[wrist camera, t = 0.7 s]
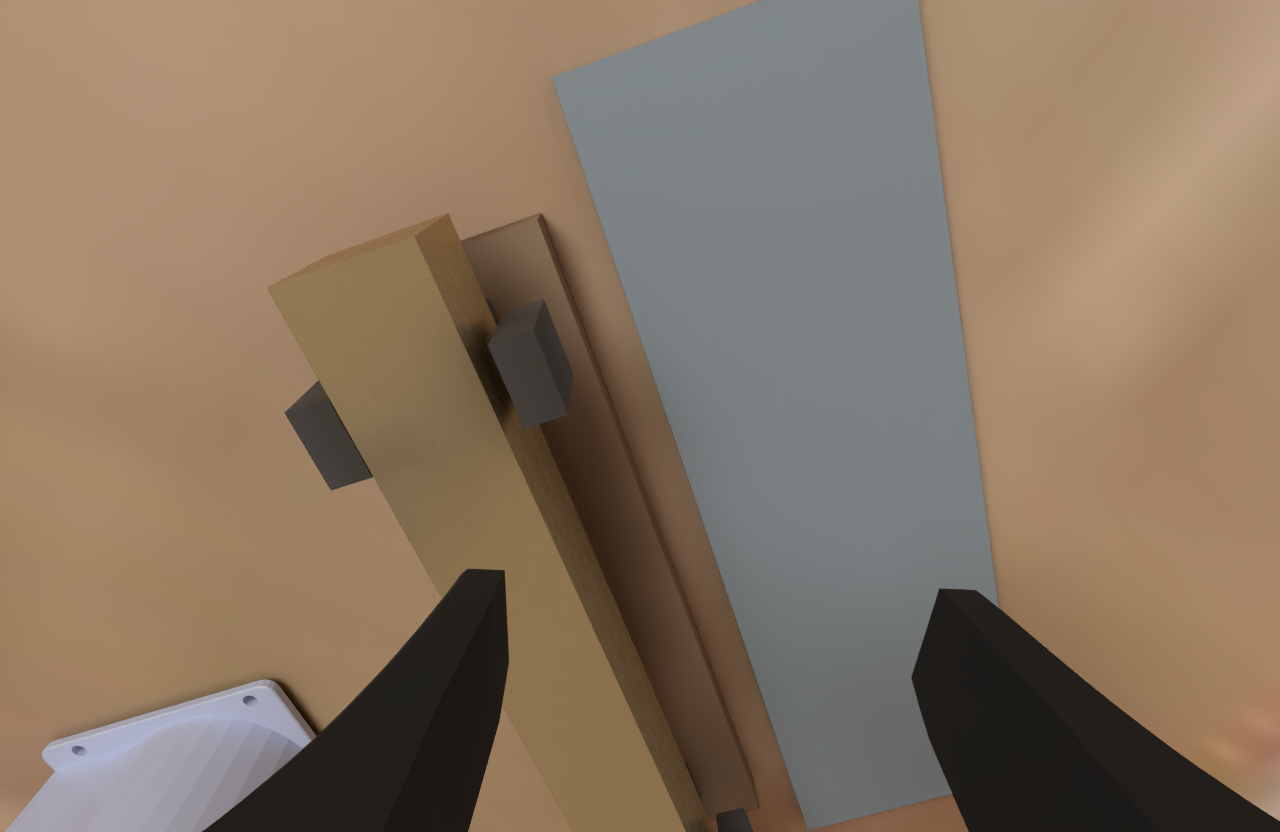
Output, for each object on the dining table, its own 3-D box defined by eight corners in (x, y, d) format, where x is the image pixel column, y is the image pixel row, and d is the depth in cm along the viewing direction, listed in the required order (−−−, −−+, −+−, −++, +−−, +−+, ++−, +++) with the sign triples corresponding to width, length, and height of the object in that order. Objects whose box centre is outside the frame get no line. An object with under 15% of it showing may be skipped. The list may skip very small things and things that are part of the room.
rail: (663, 910, 26) (670, 1004, 23) (326, 255, 16) (266, 287, 13) (739, 891, 26) (755, 984, 23) (448, 212, 15) (414, 235, 13)
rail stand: (616, 816, 29) (618, 981, 24) (341, 282, 19) (237, 351, 14) (753, 780, 28) (788, 941, 23) (541, 213, 19) (514, 256, 13)
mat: (804, 817, 30) (808, 830, 29) (553, 78, 18) (551, 77, 17) (1013, 764, 29) (1021, 776, 28) (901, -49, 17) (911, -55, 16)
